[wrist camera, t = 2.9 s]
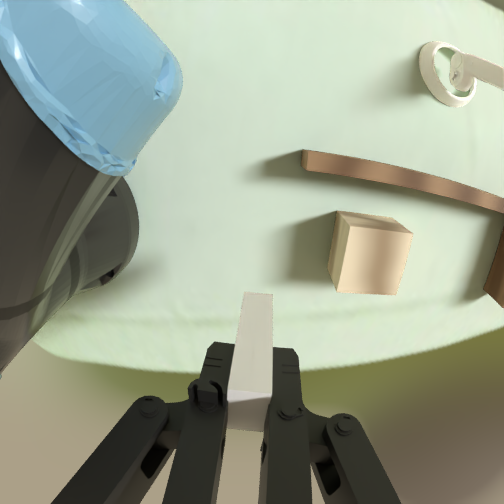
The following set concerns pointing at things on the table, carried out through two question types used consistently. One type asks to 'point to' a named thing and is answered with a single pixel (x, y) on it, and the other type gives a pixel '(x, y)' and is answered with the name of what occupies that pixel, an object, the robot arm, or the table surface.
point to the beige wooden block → (368, 253)
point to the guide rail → (500, 276)
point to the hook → (458, 73)
